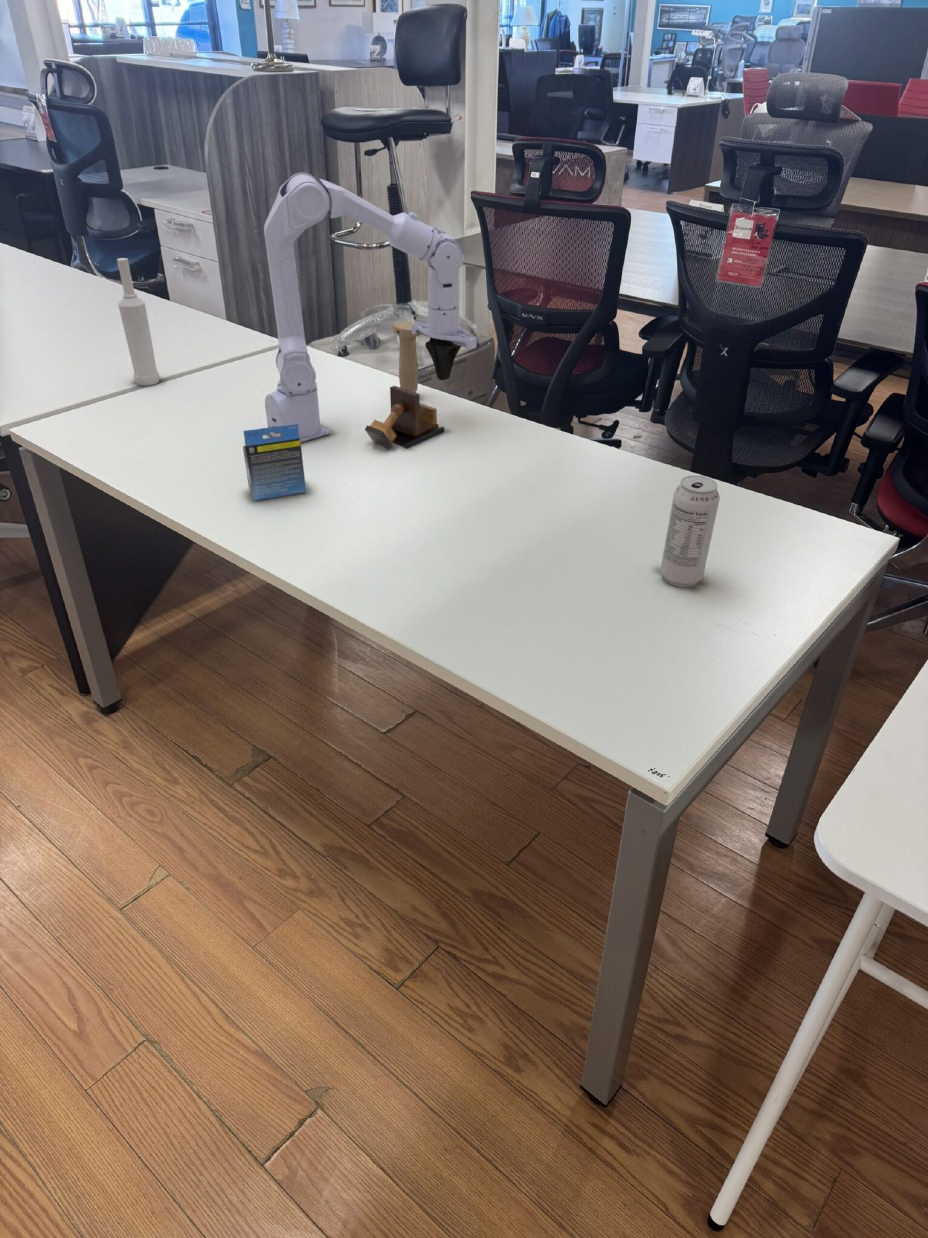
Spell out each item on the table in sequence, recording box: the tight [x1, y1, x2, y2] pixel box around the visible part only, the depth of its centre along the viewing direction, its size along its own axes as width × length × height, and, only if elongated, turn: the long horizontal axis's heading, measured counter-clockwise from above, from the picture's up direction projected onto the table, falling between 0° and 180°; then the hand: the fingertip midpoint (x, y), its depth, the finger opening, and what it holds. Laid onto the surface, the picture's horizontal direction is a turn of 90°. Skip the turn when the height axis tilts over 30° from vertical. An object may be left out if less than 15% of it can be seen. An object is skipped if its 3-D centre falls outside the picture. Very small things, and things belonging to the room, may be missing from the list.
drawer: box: [389, 385, 440, 438], centre depth 160 cm, size 7×6×8 cm
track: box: [391, 426, 445, 449], centre depth 161 cm, size 10×8×1 cm
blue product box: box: [242, 424, 307, 502], centre depth 138 cm, size 9×4×12 cm, turn 111°
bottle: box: [116, 257, 160, 387], centre depth 175 cm, size 5×5×25 cm
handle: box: [391, 320, 421, 393], centre depth 173 cm, size 5×6×15 cm
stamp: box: [364, 403, 405, 450], centre depth 156 cm, size 8×4×7 cm, turn 140°
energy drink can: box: [660, 475, 721, 588], centre depth 117 cm, size 6×6×15 cm
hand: (443, 378), depth 163 cm, fingers closed
